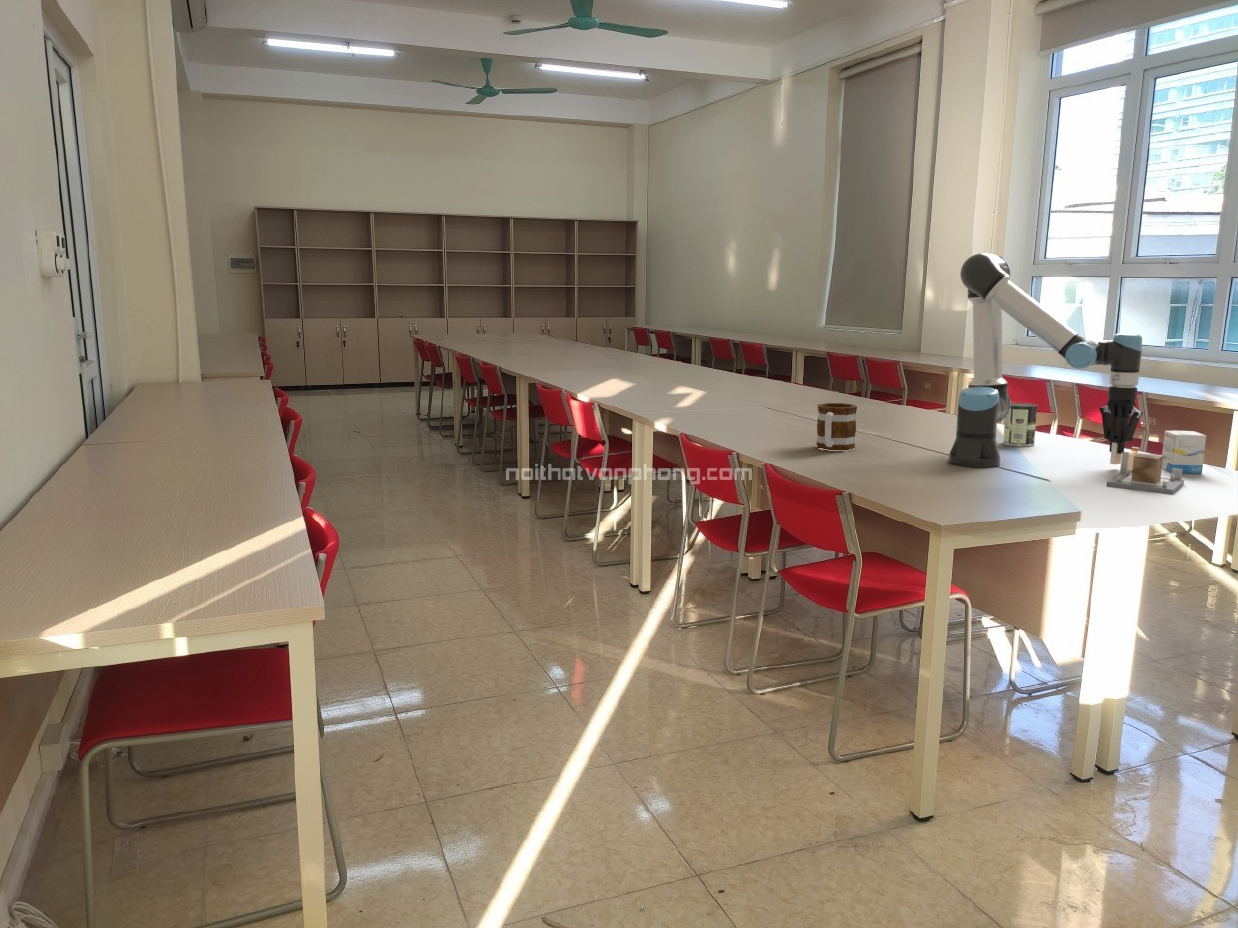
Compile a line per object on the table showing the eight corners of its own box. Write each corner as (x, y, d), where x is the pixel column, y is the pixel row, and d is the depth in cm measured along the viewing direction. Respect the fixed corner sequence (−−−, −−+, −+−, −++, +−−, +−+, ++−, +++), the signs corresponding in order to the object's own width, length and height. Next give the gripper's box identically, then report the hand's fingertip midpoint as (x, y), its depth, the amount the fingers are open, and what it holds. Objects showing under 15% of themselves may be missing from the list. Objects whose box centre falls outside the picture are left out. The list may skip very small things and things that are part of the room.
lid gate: (1127, 474, 262) (1130, 453, 261) (1120, 473, 263) (1123, 452, 262) (1137, 467, 271) (1139, 447, 270) (1130, 467, 272) (1132, 446, 271)
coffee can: (1026, 441, 319) (1029, 402, 317) (1039, 446, 309) (1043, 406, 307) (997, 441, 320) (1000, 402, 317) (1009, 446, 309) (1012, 406, 307)
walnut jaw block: (1131, 480, 249) (1133, 455, 248) (1135, 477, 254) (1138, 452, 252) (1155, 483, 245) (1158, 458, 244) (1160, 480, 250) (1163, 455, 248)
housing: (1104, 485, 249) (1107, 461, 248) (1120, 474, 263) (1122, 451, 261) (1172, 494, 238) (1175, 468, 237) (1185, 482, 252) (1188, 458, 251)
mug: (820, 444, 317) (822, 402, 314) (859, 446, 311) (861, 404, 308) (806, 453, 300) (808, 409, 297) (847, 456, 294) (849, 411, 291)
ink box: (1202, 474, 264) (1207, 435, 261) (1170, 473, 265) (1175, 434, 263) (1190, 468, 272) (1195, 430, 270) (1159, 467, 274) (1164, 429, 271)
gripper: (1095, 384, 271) (1087, 461, 275) (1134, 388, 259) (1126, 468, 264) (1112, 383, 274) (1104, 458, 278) (1152, 387, 262) (1143, 466, 266)
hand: (1115, 463), depth 271 cm, fingers closed
